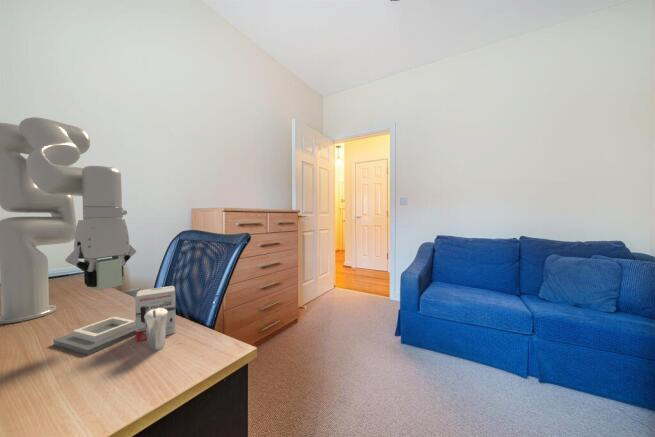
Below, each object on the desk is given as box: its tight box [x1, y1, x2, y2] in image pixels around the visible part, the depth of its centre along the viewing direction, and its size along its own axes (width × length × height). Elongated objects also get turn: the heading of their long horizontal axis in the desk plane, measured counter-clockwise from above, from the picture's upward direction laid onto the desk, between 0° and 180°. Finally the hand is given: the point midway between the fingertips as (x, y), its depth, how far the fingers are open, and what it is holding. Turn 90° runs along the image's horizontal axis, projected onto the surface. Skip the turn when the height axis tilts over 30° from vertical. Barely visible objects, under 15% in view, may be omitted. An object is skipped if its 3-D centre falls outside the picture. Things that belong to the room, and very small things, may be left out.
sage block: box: [86, 257, 123, 291], centre depth 63 cm, size 5×5×7 cm
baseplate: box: [53, 316, 136, 356], centre depth 63 cm, size 14×14×3 cm
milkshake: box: [144, 308, 168, 352], centre depth 57 cm, size 4×5×10 cm
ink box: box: [134, 285, 176, 343], centre depth 64 cm, size 8×5×12 cm, turn 123°
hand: (105, 282), depth 63 cm, fingers closed on sage block, 5 cm apart
